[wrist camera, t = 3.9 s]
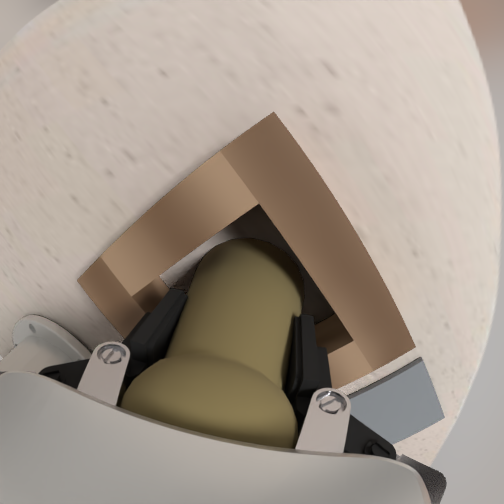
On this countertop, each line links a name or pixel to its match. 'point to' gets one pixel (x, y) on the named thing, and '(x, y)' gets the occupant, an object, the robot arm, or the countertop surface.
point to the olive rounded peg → (229, 349)
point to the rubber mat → (398, 403)
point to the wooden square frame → (291, 228)
